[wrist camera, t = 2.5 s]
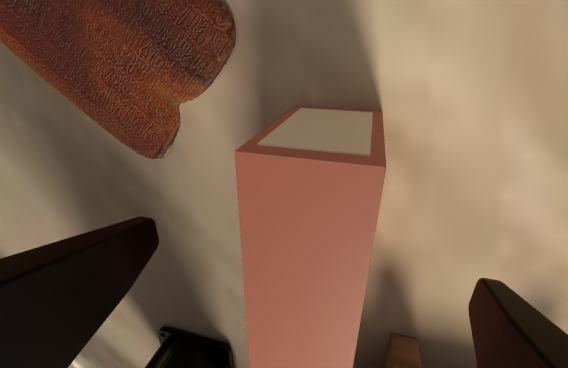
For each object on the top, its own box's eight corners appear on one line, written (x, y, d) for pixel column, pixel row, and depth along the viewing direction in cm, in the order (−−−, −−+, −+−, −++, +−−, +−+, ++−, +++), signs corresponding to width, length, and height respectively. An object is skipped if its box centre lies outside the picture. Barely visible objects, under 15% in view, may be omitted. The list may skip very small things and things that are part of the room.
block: (292, 267, 19) (250, 376, 12) (296, 104, 14) (234, 149, 8) (357, 280, 18) (346, 405, 11) (382, 110, 13) (386, 165, 7)
